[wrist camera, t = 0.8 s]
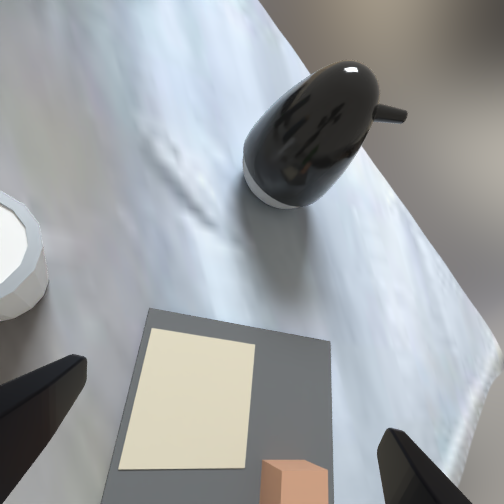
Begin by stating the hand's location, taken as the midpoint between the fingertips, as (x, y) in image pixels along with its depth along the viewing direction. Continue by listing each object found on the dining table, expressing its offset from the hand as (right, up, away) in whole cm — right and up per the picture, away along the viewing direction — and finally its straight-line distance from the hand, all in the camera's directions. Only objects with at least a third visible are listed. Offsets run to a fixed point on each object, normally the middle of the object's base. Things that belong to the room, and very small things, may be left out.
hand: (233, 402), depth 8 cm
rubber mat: (-1, -11, +14) cm, 18 cm away
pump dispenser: (+3, +13, +26) cm, 29 cm away
